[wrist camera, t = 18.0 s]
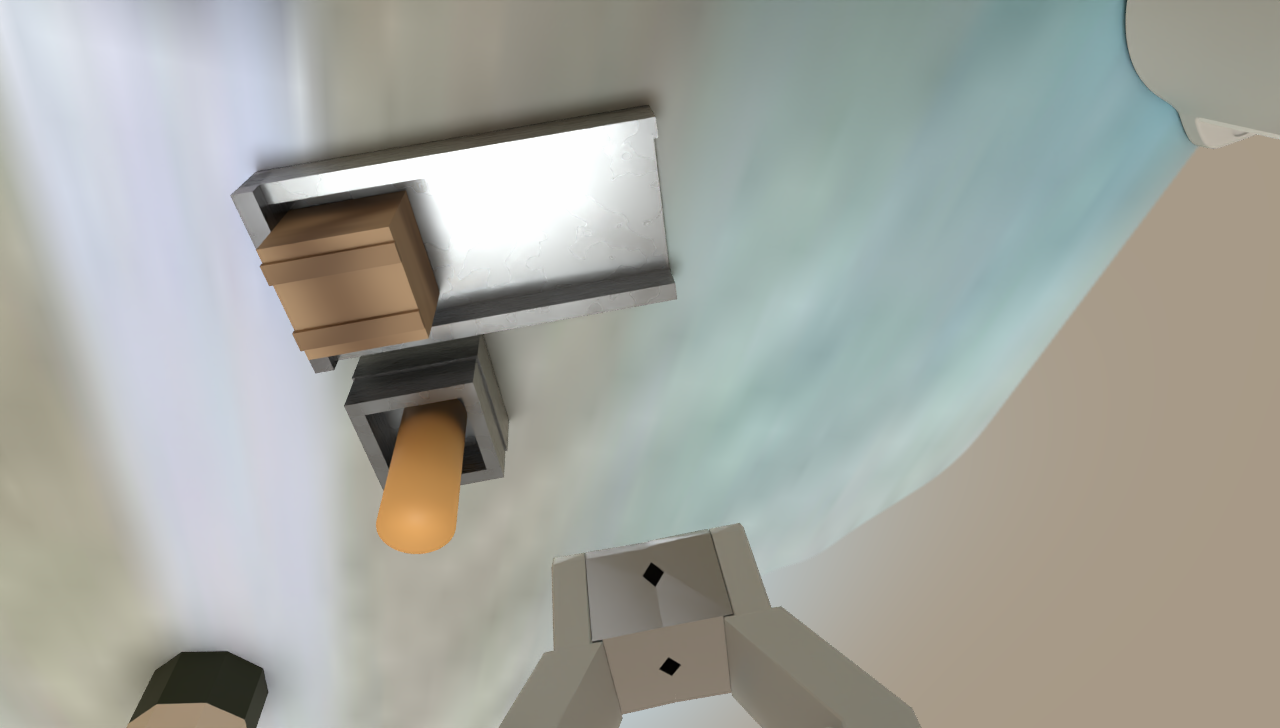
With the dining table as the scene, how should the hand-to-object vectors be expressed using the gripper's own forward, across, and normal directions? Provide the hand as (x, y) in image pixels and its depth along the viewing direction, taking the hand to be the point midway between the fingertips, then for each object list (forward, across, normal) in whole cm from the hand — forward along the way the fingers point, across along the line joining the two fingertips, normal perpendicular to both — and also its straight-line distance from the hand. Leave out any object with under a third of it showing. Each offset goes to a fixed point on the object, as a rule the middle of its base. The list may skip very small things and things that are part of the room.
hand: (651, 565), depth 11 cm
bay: (+29, +6, +5) cm, 30 cm away
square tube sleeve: (+29, +11, +14) cm, 34 cm away
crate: (+28, +12, +5) cm, 31 cm away
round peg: (+26, +11, +14) cm, 32 cm away
